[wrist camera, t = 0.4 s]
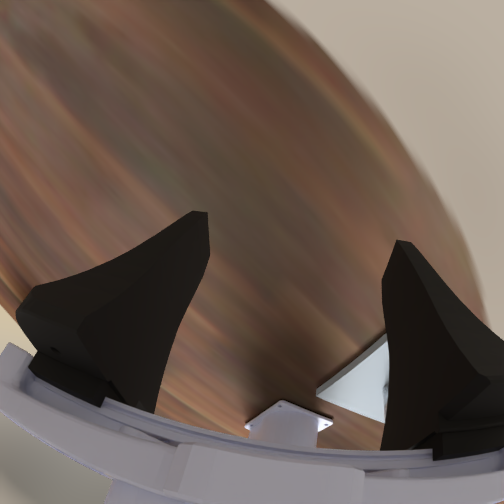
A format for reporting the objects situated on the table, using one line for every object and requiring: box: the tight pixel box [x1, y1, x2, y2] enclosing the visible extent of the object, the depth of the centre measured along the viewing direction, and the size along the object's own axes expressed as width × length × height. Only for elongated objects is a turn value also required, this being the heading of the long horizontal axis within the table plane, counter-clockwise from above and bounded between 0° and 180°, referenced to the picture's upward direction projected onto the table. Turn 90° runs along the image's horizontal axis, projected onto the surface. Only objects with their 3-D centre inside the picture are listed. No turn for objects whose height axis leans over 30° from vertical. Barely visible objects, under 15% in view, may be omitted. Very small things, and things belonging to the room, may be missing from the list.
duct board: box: [316, 334, 389, 423], centre depth 26 cm, size 12×12×5 cm
